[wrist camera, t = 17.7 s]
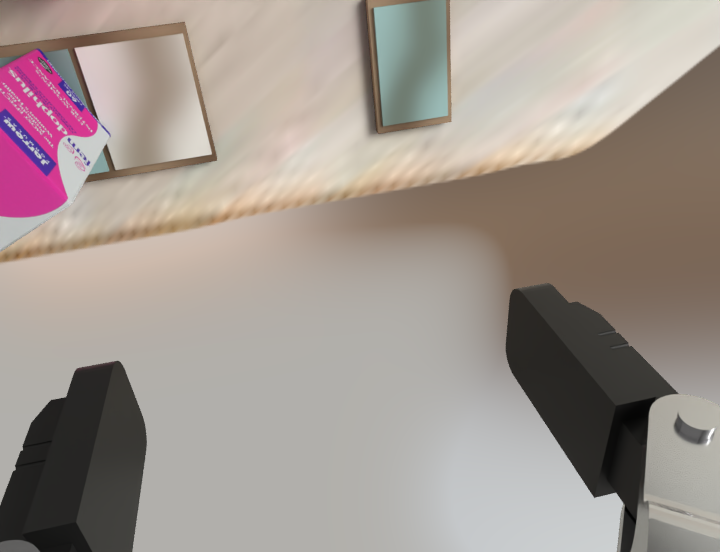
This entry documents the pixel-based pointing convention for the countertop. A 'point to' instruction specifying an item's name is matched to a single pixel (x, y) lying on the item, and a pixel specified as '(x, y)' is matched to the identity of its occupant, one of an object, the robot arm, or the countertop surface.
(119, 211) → the countertop surface
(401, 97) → the track
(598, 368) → the robot arm
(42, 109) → the supplement box
